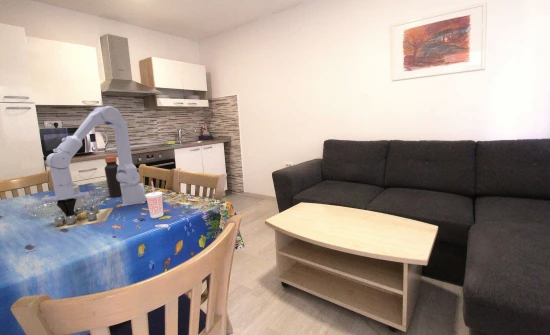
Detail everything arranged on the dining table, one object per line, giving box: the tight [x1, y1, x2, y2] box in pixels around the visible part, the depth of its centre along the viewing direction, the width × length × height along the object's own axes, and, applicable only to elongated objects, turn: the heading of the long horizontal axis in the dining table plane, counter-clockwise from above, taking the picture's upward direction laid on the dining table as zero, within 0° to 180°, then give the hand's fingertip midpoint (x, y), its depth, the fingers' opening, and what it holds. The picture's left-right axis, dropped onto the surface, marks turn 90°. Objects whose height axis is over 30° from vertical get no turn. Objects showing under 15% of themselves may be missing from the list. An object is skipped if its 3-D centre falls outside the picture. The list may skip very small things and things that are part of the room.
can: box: [72, 182, 84, 208], centre depth 116 cm, size 8×8×12 cm
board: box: [53, 207, 114, 231], centre depth 105 cm, size 16×17×1 cm
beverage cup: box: [145, 180, 164, 219], centre depth 104 cm, size 6×6×14 cm
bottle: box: [104, 156, 122, 198], centre depth 136 cm, size 7×7×20 cm
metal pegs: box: [53, 204, 100, 228], centre depth 104 cm, size 13×13×3 cm
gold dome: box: [75, 209, 90, 220], centre depth 105 cm, size 4×4×2 cm
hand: (70, 217), depth 103 cm, fingers closed
